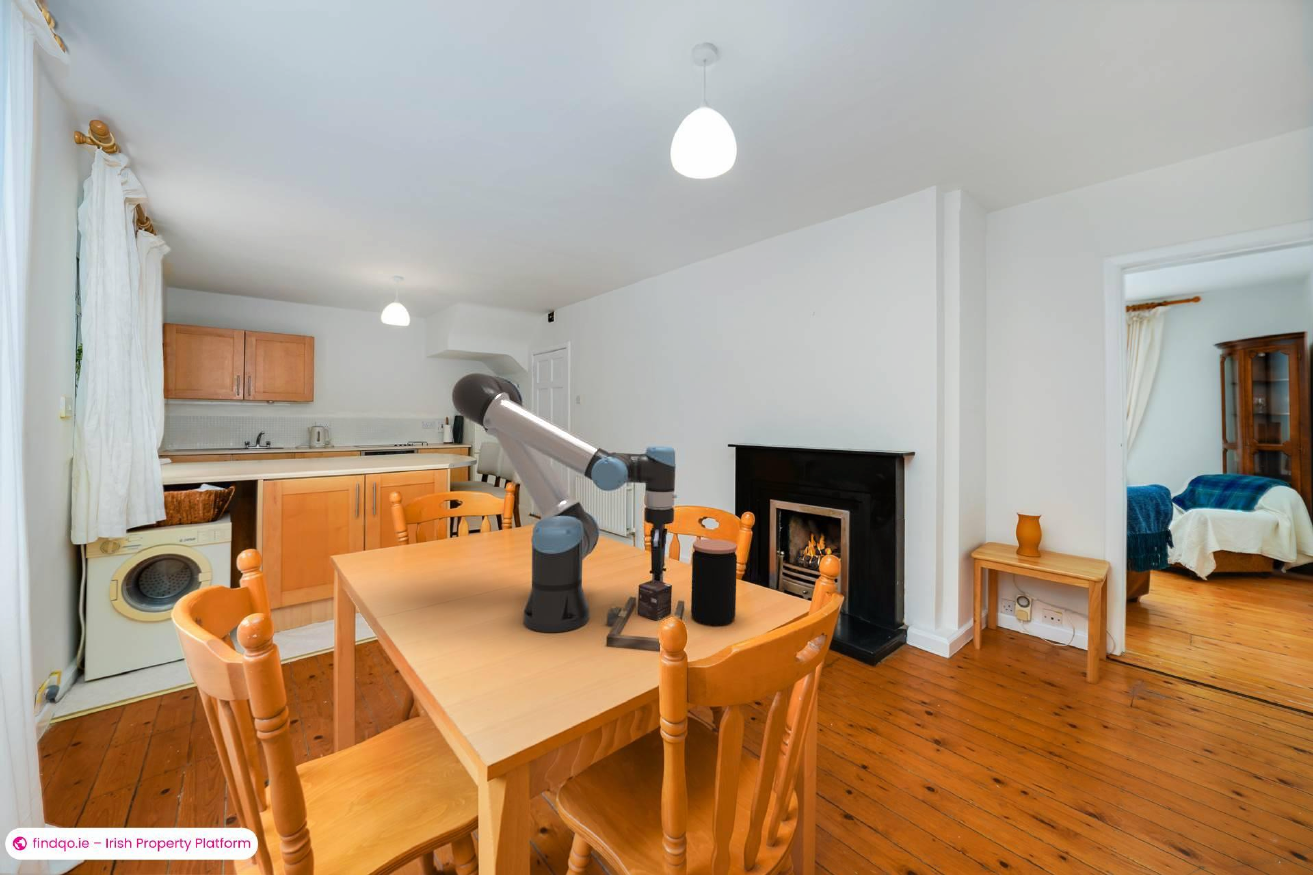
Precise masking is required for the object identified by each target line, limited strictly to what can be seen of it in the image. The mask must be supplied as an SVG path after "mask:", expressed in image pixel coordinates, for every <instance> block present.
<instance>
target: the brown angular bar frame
mask: <svg viewBox="0 0 1313 875" xmlns="http://www.w3.org/2000/svg"><path fill="white" fill-rule="evenodd" d="M636 605H637V597H636V596H630V597H629V598H628V600H627V602H626V603H625V605H624V607H623V609H622V607H620V606H619V605H617V604H613V605H612V606H610V608H609V609H608V611H607V613H606V627H611V629H610V630H609V632H608V634H607V635H606V647H613V648H614V647H615V648H622V649H623V648H625V649H633V650H635V649H636V650H644V651H646V650H647V651H656V652H661V651H660V643H659V638H660V637H651V636H650V637H649V636H640V635H639V636H638V635H627V634H621V633H622V632H623V630H624V628H625V626H626V624H627V623H628V620H629V619H630V617H631V615H632V613H633V611H634V609H635V608H636ZM684 610H685V600H678V601H677V604H676V608H675V611H674V614H673V615H672V618H673V617H677V618H678V619H681V620H683V615H684V612H685V611H684Z"/></svg>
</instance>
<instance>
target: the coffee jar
mask: <svg viewBox="0 0 1313 875" xmlns="http://www.w3.org/2000/svg"><path fill="white" fill-rule="evenodd" d="M692 547H693V549H694V551H693V552H692V554H691V555H692V556H691V561H692V562H691V594H690V595H691V599H690V602H691V603H690V604H691V605H690V612H691V616H692V617H693V618H694V619H693V620H695V621H696V622H698V623H700V624H702V625H705V626H713V627H720V626H721V627H722V626H725V625H728V624H731V623H732V622H733V620H734V619H735V616H736V610H737V607H736V606H737V602H736V601H737V600H736V599H737V573H738V572H737V569H738V568H737V567H738V564H737V563H738V556H737V554H736V551H737V549H738V545H737V544H736V543H735V542H733V541H729V540H726V539H725V540H724V539H713V538H706V539H699V540H695V541H693V543H692Z"/></svg>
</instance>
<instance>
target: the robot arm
mask: <svg viewBox="0 0 1313 875" xmlns="http://www.w3.org/2000/svg"><path fill="white" fill-rule="evenodd" d="M451 400H452V403H453V406H454V408H455V410H456V412H458V413H459V415H461V416H462V417H464V418H465V419H468V420H469V421H471V422H473V423H475V424H477V425H479V426H481V427H482V428H483V429H484V431H485V433H486V434H487V435H490V436H493V437H495V438H496V439H497V441H498V444H500V447H501V448H502V450H503V451H504V453H505V454H506V456H507V459H508V460H509V462H510V463H511V465H512V468H513V469H514V470H515V472H516V474H517V475H518V477H519V479H520V480H521V483H522V484H523V486H524V487H525V489H526V491H527V492H528V494H529V496H530V497H531V498H530V499H532V502H533V503H534V505H535V506H536V508H537V510H538V511H539V513H540V516H541V517H540V520H538V521H537V522H536V523H535V524H534V526H533V529H532V535H531V539H530V540H531V590H530V592H529V594H528V598H527V600H526V601H527V602H526V604H525V607H524V609H523V624H524V626H525V627H527V628H528V629H529V630H533V631H535V632H541V633H561V632H568V631H573V630H576V629H578V628H580V627H582V626H584V625H586V624H587V622H588V621H589V619H590V609H589V604H588V601H587V598H586V594H585V592H584V589H583V588H584V587H583V560H584V559H585V558H586V557H587V556H589V555H590V554H591V553H592V552H593V551H594V549H595V548H596V546H597V543H598V541H599V538H600V527H599V524H598V521H597V519H596V518H595V517H594V516H593V515H592V514H590V513H589V512H587V511H585V510H584V507H583V506H582V504H581V502H580V501H579V500H578V499H573V498H571V497H570V495H569V493H568V491H567V490H566V489H565V487H564V485H563V484H562V481H561V479H560V478H559V476H558V474H557V473H556V471H555V469H554V468H553V466H552V465H551V463H550V460H549V459H548V458H550V459H552V460H554V461H555V462H558V463H560V464H561V465H563V466H565V467H566V468H568V469H571V470H572V471H573V472H576V473H578V474H580V475H582V476H584V477H585V478H587V479H589V480H591V482H593V483H594V485H595V486H596V487H597V488H598V489H600V490H602V491H606V492H610V491H616V490H618V489H621V487H623V486H624V485H625V484H627V483H633V484H636V483H637V484H645V489H644V505H645V508H644V521H645V522H646V523H648V524H652V525H653V526H652V528H651V530H650V536H649V537H650V540H649V542H650V551H651V552H650V556H651V557H650V558H651V559H650V560H651V561H650V562H651V564H650V565H651V569H650V570H649V574H652V575H651V580H657V581H661V582H664V572H667V568H665V566H666V563H665V561H666V560H665V556H666V544H667V536H668V528H666V525H670V524H673V523H674V521H675V508H674V505H675V499H676V498H677V497H678V496H677V494H676V493H675V485H676V450H675V449H674V448H673V447H671V446H653V445H652V446H648V447H646V449H645V453H625V452H608V451H607V450H604V449H602V448H601V447H599V446H597V445H595V444H593V443H591V442H590V441H588V440H586V439H584V438H582V437H580V436H578V435H576V434H575V433H573V432H571V431H570V430H567V429H565V428H563V427H562V426H560V425H557V424H556V423H554V422H552V421H551V420H548V419H546V417H545V418H544V417H543V416H541V415H539V414H538V413H535V412H533V411H532V410H530V409H528V408H526V407H524V405H523V402H524V401H523V400H524V399H523V395H522V392H521V389H519V387H518V386H517V385H516V384H515V383H514V382H512V381H510V380H509V379H507V378H505V377H502V376H497V375H495V376H494V375H493V376H492V375H489V374H485V373H470V374H466V375H464V376H463V377H460V379H458V381H457V382H456V383H455V385H454V387H453V389H452V394H451Z"/></svg>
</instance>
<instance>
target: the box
mask: <svg viewBox="0 0 1313 875" xmlns="http://www.w3.org/2000/svg"><path fill="white" fill-rule="evenodd" d="M672 588H673V584H669V583H666V582H664V581H663V582H661V581H657V580H652V579H651V580H649V581H646V582H643V583H640V584H639V585H638V598H637V599H638V600H637V614H638V615H640V616H642V617H645V618H648V619H651V620H652V621H658V619H659V618H660V619H662V618H664V617H667V616H669V615H671V614H672V595H673V594H672V593H673V589H672ZM666 615H667V616H666ZM663 616H664V617H663ZM660 619H659V620H660Z"/></svg>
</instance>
